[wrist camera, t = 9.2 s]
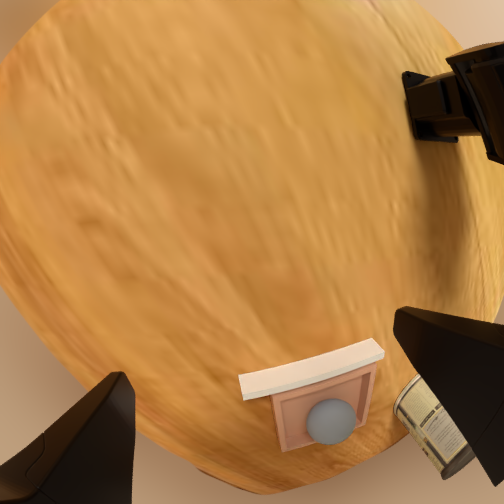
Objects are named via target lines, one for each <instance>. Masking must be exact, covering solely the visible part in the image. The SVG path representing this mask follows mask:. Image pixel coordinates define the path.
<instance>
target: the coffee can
mask: <svg viewBox="0 0 504 504" xmlns="http://www.w3.org/2000/svg"><path fill="white" fill-rule="evenodd" d="M393 409H394V414H395V415H396V416H397V417H398V418H399V420H400V421H401V422H402V423H403V425H404V426H405V427H406V429H407V430H408V431H409V433H410V434H411V435H412V437H413V438H414V439H415V440H416V442H417V443H418V444H419V446H420V447H421V448H422V450H423V451H424V452H425V454H426V455H427V457H428V458H429V459H430V460H431V462H432V463H433V464H434V466H435V467H436V469H437V470H438V471H439V472H440V474H441V477H442V479H443V480H446V479H448V478H450V477H451V476H453V475H454V474H456V473H457V472H458V471H460V470H461V469H462V468H463V467H465V466H466V465H467V464H468V463H469V462H470V461H471V460H472V459H474V458H475V457H476V455H475V454H474V452H473V451H472V449H471V447H470V446H469V444H468V443H467V441H466V440H465V438H464V437H463V435H462V434H461V432H460V431H459V429H458V428H457V426H456V425H455V423H454V422H453V420H452V419H451V418H450V416H449V415H448V413H447V412H446V410H445V409H444V408H443V406H442V405H441V403H440V402H439V401H438V399H437V398H436V396H435V395H434V394H433V392H432V391H431V390H430V388H429V387H428V386H427V384H426V383H425V381H424V380H423V379H422V377H421V376H420V375H419V374H417V375H416V376H415V377H414V378H413V379H412V380H411V381H410V382H409V383H408V385H407V386H406V387H405V388H404V389H403V391H402V392H401V394H400V395H399V397H398V398H397V400H396V402H395V405H394V408H393Z"/></svg>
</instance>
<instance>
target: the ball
mask: <svg viewBox="0 0 504 504" xmlns="http://www.w3.org/2000/svg"><path fill="white" fill-rule="evenodd" d="M355 425H356V414H355V411H354V409H353V408H352V406H351V405H350V404H349V403H347V402H346V401H343V400H341V399H326V400H323V401H321V402H319V403H318V404H316V405H315V406H314V407H313V408H312V409H311V411H310V412H309V414H308V416H307V420H306V427H307V431H308V433H309V435H310V436H311V437H312V439H314V440H315V441H317V442H318V443H321V444H325V445H333V444H337V443H340V442H342V441H344V440H345V439H347V438H348V437H349V436H350V435H351V433H352V432H353V430H354V428H355Z"/></svg>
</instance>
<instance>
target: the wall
mask: <svg viewBox="0 0 504 504" xmlns="http://www.w3.org/2000/svg"><path fill="white" fill-rule="evenodd" d="M384 353H385V351H384V350H383V349H382V348H381V347H380V346H379V345H378V344H377V343H376V342H375V341H374V340H373V339H372V338H369V339H367V340H364V341H361V342H358V343H355V344H352V345H349V346H346V347H343V348H340V349H337V350H334V351H331V352H328V353H325V354H321V355H318V356H314V357H311V358H308V359H304V360H300V361H297V362H293V363H289V364H285V365H281V366H277V367H273V368H269V369H265V370H260V371H256V372H251V373H246V374H241V375H238V376H239V381H240V386H241V391H242V396H243V399H244V400H249V399H253V398H258V397H263V396H267V395H271V394H275V393H279V392H283V391H287V390H291V389H295V388H298V387H302V386H305V385H309V384H312V383H316V382H319V381H322V380H325V379H328V378H331V377H334V376H337V375H340V374H343V373H346V372H349V371H352V370H354V369H357V368H360V367H362V366H365V365H368V364H370V363H373V362H375V361H378V360H380V359H382V358H384Z"/></svg>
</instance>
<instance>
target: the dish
mask: <svg viewBox="0 0 504 504" xmlns="http://www.w3.org/2000/svg"><path fill="white" fill-rule="evenodd" d="M376 368H377V364H376V363H375V362H373V363H370V364H368V365H365V366H362V367H360V368H357V369H354V370H352V371H349V372H346V373H343V374H340V375H337V376H334V377H331V378H328V379H325V380H322V381H319V382H316V383H312V384H309V385H305V386H302V387H298V388H295V389H291V390H287V391H283V392H279V393H275V394H271V395H270V399H271V405H272V410H273V416H274V421H275V427H276V432H277V438H278V441H279V445H280V448H281V451H282V452H286V451H289V450H293V449H297V448H300V447H304V446H307V445H311V444H314V443H317V441H315V440H314V439H312V437H311V436H310V435H309V433H308V431H307V427H306V420H307V416H308V414H309V412H310V411H311V409H312V408H313V407H314V406H315V405H316V404H318V403H319V402H321V401H323V400H326V399H341V400H343V401H346V402H347V403H349V404H350V405H351V406H352V408H353V409H354V411H355V414H356V425H355V428H354V429H356V428H358V427H361V426H363V425H365V423H366V419H367V415H368V410H369V406H370V401H371V396H372V391H373V386H374V380H375V374H376Z"/></svg>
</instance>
